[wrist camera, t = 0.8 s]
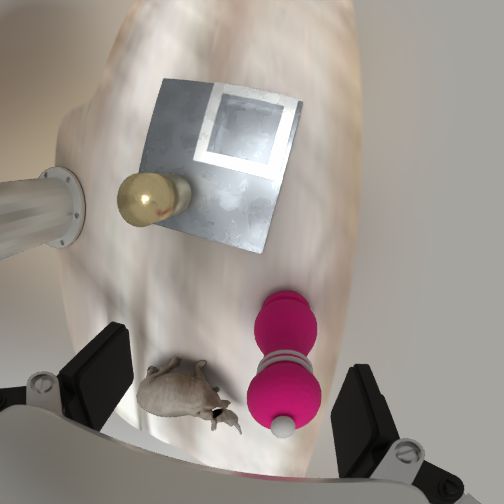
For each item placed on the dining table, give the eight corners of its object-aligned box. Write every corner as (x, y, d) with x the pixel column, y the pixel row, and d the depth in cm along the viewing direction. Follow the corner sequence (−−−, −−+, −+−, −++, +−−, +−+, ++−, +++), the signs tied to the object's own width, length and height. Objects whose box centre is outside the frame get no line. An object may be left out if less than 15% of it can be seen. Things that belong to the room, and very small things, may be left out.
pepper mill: (299, 276, 34) (312, 387, 15) (322, 323, 36) (346, 445, 16) (247, 301, 36) (211, 417, 17) (273, 344, 37) (260, 467, 18)
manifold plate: (136, 215, 35) (120, 220, 31) (168, 81, 30) (155, 72, 26) (262, 250, 34) (259, 260, 30) (302, 105, 29) (304, 95, 25)
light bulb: (149, 210, 33) (113, 220, 25) (157, 169, 31) (122, 169, 24) (186, 220, 33) (157, 232, 25) (195, 178, 31) (168, 178, 24)
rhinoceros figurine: (127, 340, 37) (150, 427, 25) (212, 334, 44) (256, 406, 32) (129, 374, 40) (151, 454, 28) (205, 367, 47) (242, 435, 35)
